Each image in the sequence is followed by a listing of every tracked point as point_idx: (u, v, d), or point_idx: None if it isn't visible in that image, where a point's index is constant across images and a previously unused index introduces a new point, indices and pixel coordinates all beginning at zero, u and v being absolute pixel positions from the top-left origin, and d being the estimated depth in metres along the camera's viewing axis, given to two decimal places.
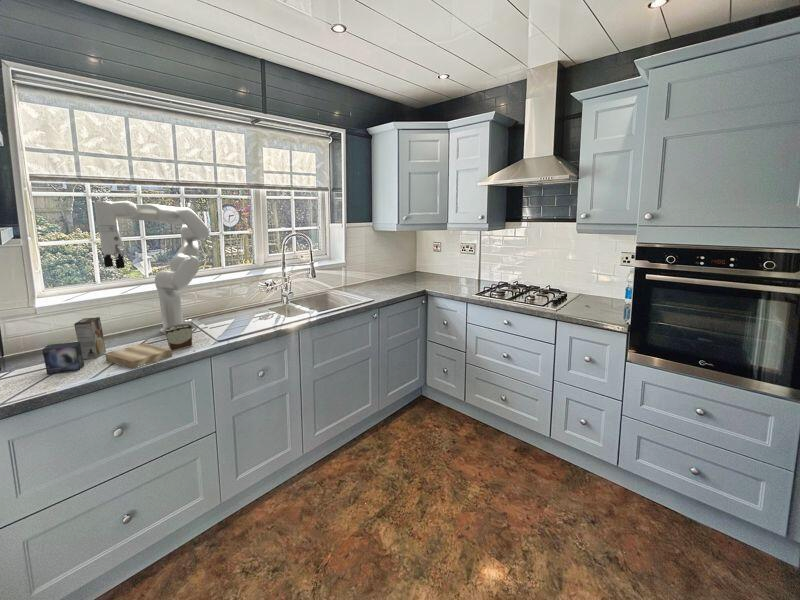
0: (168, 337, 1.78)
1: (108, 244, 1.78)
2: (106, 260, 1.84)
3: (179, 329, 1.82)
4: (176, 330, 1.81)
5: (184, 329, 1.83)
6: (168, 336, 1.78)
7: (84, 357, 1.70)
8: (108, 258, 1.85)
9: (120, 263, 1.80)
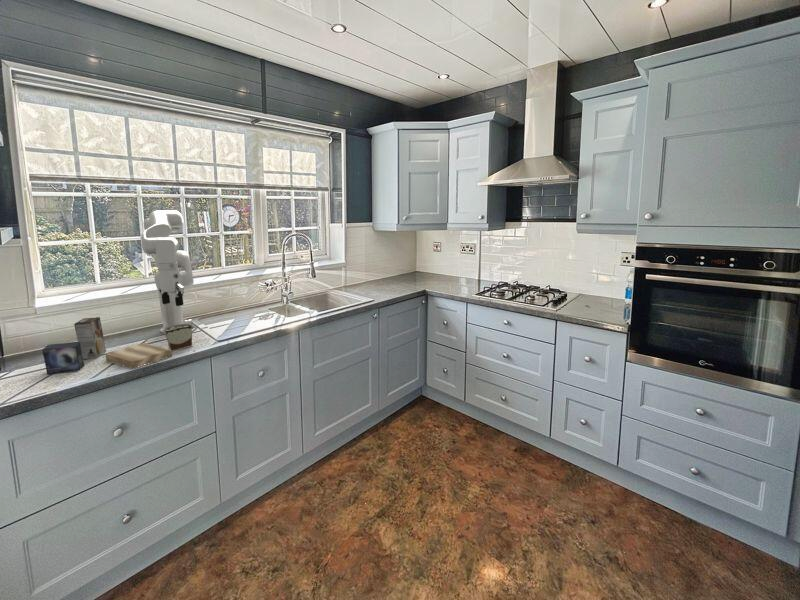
0: (168, 337, 1.78)
1: (168, 282, 1.75)
2: (164, 297, 1.81)
3: (179, 329, 1.82)
4: (176, 330, 1.81)
5: (184, 329, 1.83)
6: (168, 336, 1.78)
7: (84, 357, 1.70)
8: (165, 295, 1.82)
9: (180, 301, 1.77)
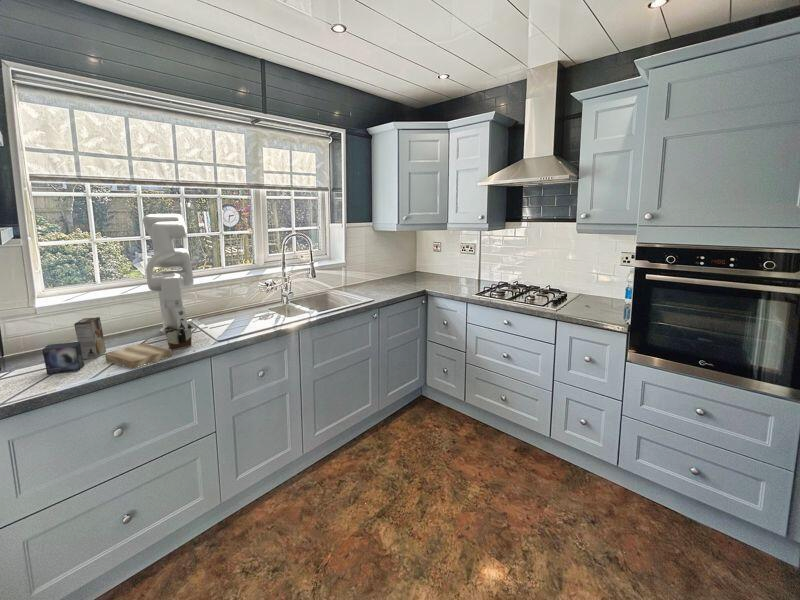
0: (168, 337, 1.78)
1: (173, 319, 1.79)
2: None
3: None
4: (176, 330, 1.81)
5: None
6: (168, 336, 1.78)
7: (84, 357, 1.70)
8: None
9: (182, 338, 1.82)
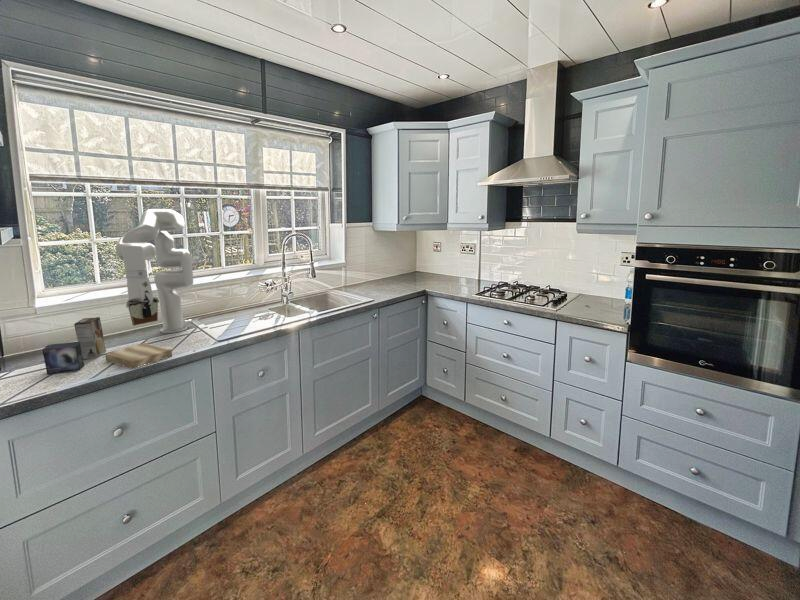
0: (131, 310, 1.64)
1: (137, 290, 1.65)
2: None
3: None
4: (140, 303, 1.67)
5: None
6: (131, 309, 1.64)
7: (84, 357, 1.70)
8: None
9: (147, 312, 1.68)
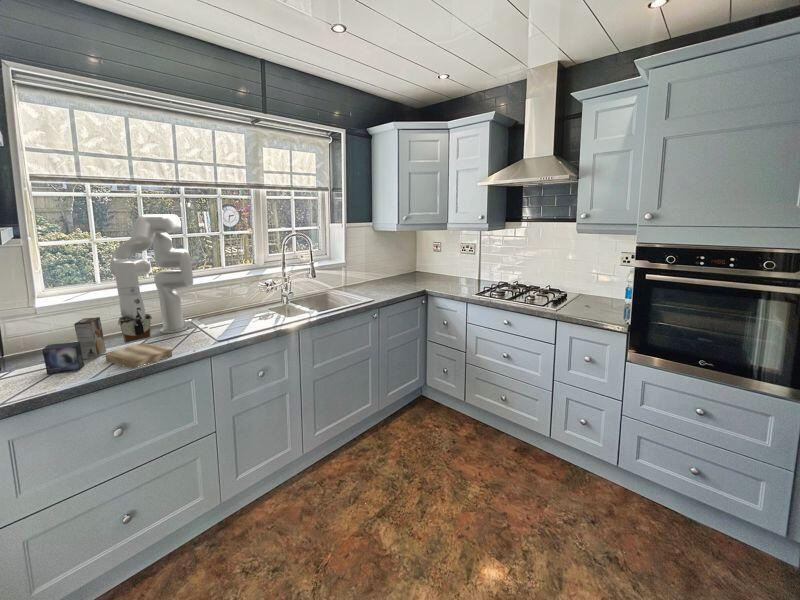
0: (123, 328, 1.62)
1: (129, 308, 1.63)
2: None
3: None
4: (132, 320, 1.65)
5: None
6: (123, 327, 1.62)
7: (84, 357, 1.70)
8: None
9: (139, 329, 1.66)
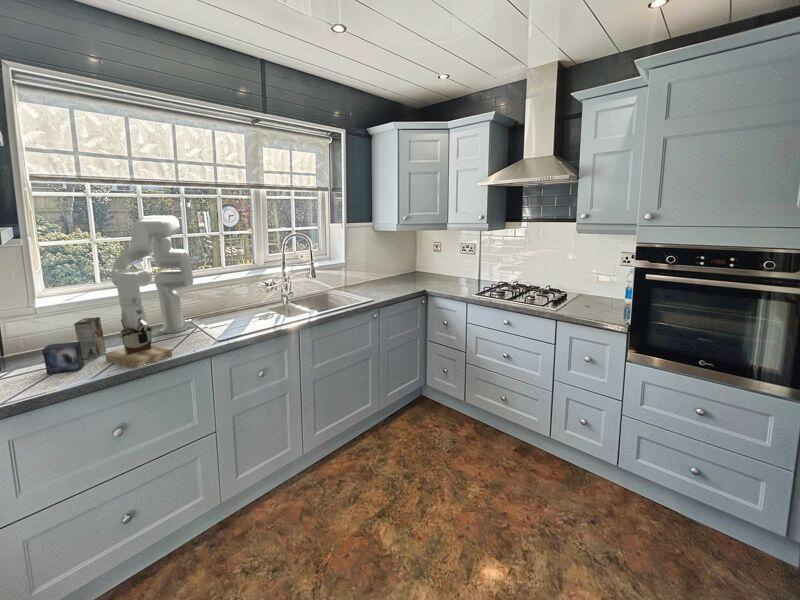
0: (125, 341, 1.64)
1: (130, 318, 1.64)
2: None
3: (137, 332, 1.68)
4: (134, 333, 1.67)
5: None
6: (125, 339, 1.64)
7: (84, 357, 1.70)
8: None
9: (143, 338, 1.66)
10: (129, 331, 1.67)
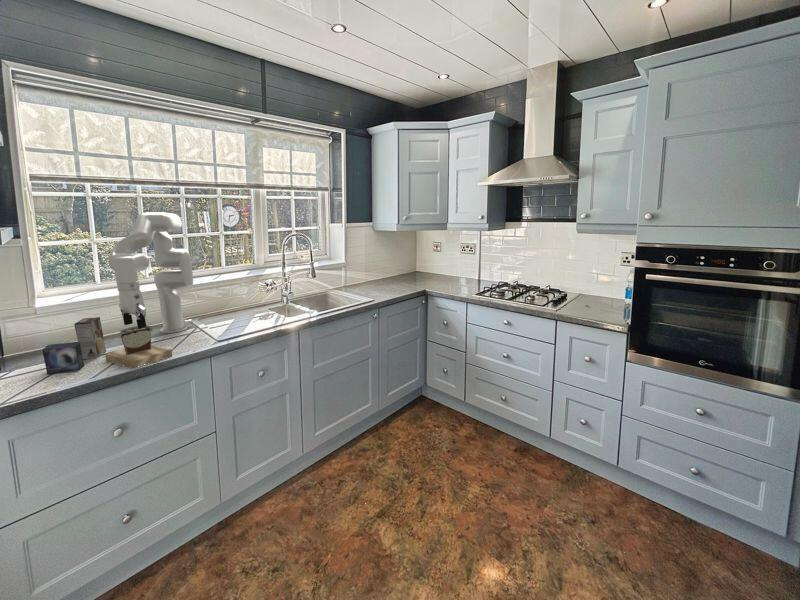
0: (124, 340, 1.65)
1: (128, 303, 1.63)
2: (125, 318, 1.69)
3: (136, 331, 1.68)
4: (133, 333, 1.67)
5: (142, 331, 1.70)
6: (124, 339, 1.64)
7: (84, 357, 1.70)
8: (127, 315, 1.70)
9: (142, 323, 1.65)
10: (128, 331, 1.68)
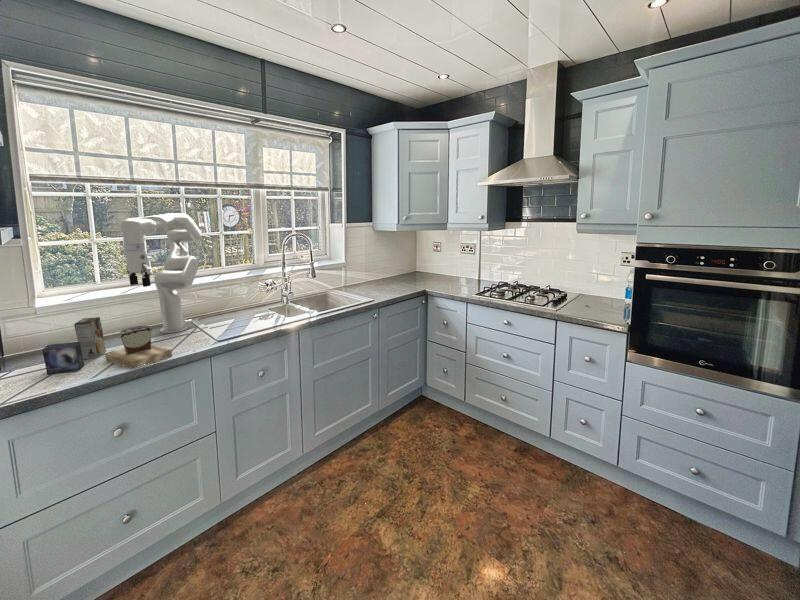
0: (124, 340, 1.65)
1: (135, 263, 1.77)
2: (131, 278, 1.84)
3: (136, 331, 1.68)
4: (133, 333, 1.67)
5: (142, 331, 1.70)
6: (124, 339, 1.64)
7: (84, 357, 1.70)
8: (133, 276, 1.84)
9: (146, 281, 1.80)
10: (128, 331, 1.68)
